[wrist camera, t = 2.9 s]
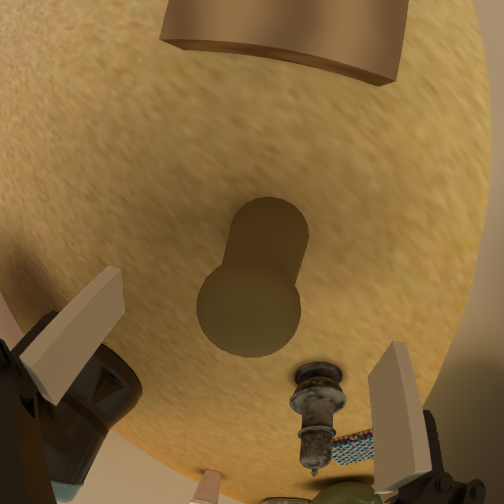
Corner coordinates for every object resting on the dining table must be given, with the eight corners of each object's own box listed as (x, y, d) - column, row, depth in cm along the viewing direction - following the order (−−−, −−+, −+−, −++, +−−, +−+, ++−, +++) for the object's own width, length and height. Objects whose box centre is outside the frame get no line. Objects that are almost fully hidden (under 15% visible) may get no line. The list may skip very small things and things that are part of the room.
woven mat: (339, 458, 40) (339, 467, 38) (317, 438, 37) (317, 449, 35) (395, 444, 36) (396, 453, 35) (383, 421, 33) (384, 433, 31)
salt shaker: (283, 367, 29) (269, 469, 19) (336, 354, 27) (339, 462, 17) (302, 396, 31) (294, 486, 21) (350, 385, 29) (353, 479, 19)
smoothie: (211, 467, 49) (196, 519, 37) (232, 476, 51) (219, 526, 38) (194, 468, 52) (178, 516, 39) (214, 477, 53) (201, 524, 41)
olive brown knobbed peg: (229, 196, 22) (167, 271, 12) (310, 198, 21) (315, 280, 11) (233, 266, 24) (190, 366, 15) (306, 270, 23) (303, 378, 14)
